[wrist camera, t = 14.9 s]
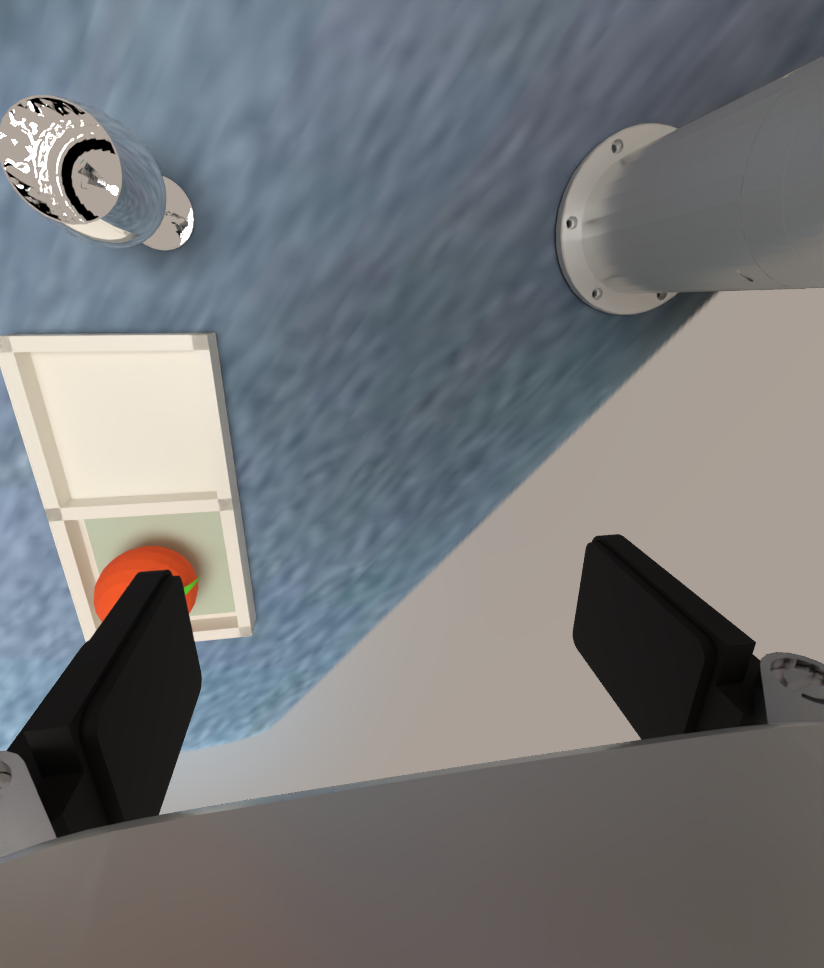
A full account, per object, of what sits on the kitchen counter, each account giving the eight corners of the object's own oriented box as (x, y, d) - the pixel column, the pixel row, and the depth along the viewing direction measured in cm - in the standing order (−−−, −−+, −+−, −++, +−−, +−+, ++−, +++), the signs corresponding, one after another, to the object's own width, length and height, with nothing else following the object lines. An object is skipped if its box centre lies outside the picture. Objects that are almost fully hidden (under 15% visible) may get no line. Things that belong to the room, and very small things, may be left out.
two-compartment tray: (215, 332, 34) (206, 334, 31) (256, 617, 43) (252, 635, 40) (15, 333, 32) (-10, 336, 29) (102, 632, 41) (89, 652, 39)
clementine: (192, 512, 37) (162, 556, 31) (234, 579, 40) (215, 633, 33) (98, 550, 37) (49, 603, 31) (147, 614, 40) (111, 675, 33)
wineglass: (190, 276, 32) (118, 263, 21) (100, 235, 31) (-30, 197, 20) (216, 190, 31) (151, 127, 20) (122, 142, 29) (-6, 44, 18)
